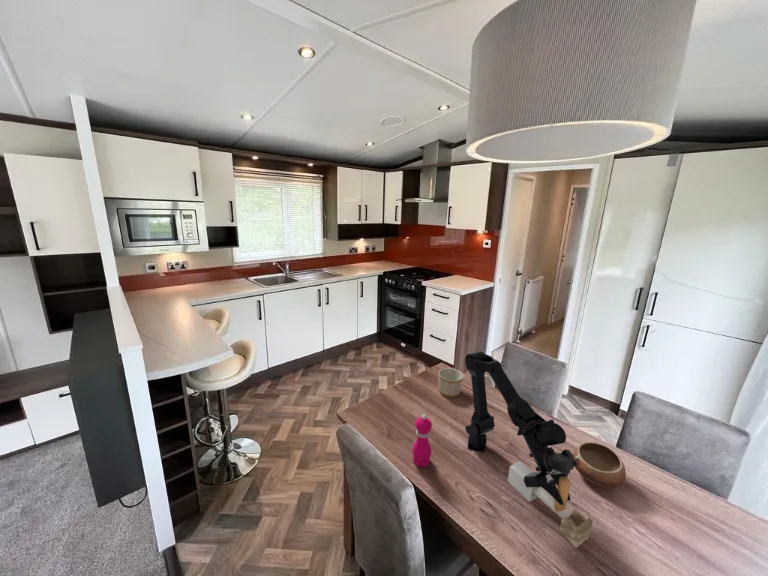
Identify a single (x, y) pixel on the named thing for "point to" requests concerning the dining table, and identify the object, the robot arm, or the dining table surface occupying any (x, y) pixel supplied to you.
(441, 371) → the planter
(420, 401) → the dining table surface
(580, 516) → the end socket
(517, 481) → the outer sleeve
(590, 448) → the bowl
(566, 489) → the multicoloured piece
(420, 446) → the pepper mill
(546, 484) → the robot arm
